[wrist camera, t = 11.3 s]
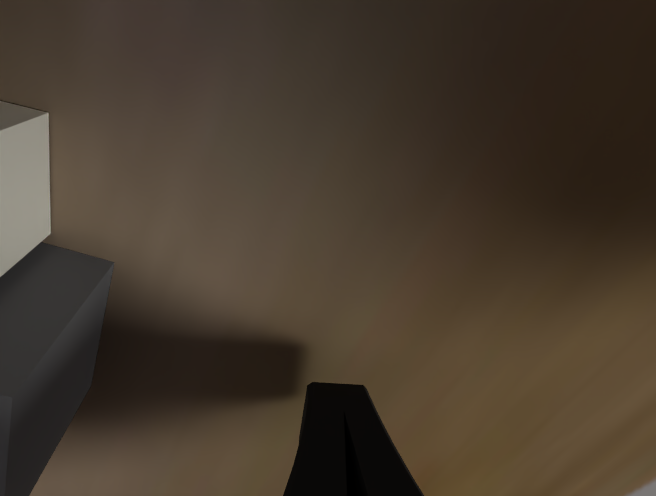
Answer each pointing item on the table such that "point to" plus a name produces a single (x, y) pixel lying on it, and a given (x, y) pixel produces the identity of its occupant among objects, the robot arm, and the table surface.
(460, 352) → the table surface
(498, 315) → the table surface
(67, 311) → the plug
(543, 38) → the table surface
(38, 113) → the socket box
